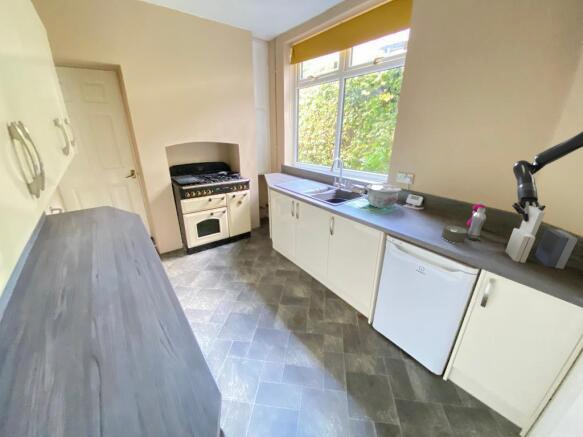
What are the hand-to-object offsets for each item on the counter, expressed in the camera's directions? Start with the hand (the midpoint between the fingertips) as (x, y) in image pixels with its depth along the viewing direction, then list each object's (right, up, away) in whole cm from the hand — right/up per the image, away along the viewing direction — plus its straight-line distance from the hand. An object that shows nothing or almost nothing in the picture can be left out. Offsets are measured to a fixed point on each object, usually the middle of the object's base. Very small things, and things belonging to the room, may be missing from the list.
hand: (530, 221), depth 122 cm
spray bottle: (-5, -7, +33) cm, 34 cm away
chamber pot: (-47, +12, +81) cm, 94 cm away
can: (-26, -11, +21) cm, 35 cm away
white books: (-7, -19, +2) cm, 20 cm away
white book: (-1, -7, +2) cm, 7 cm away
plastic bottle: (-14, -12, +21) cm, 28 cm away
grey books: (+6, -21, -3) cm, 22 cm away
